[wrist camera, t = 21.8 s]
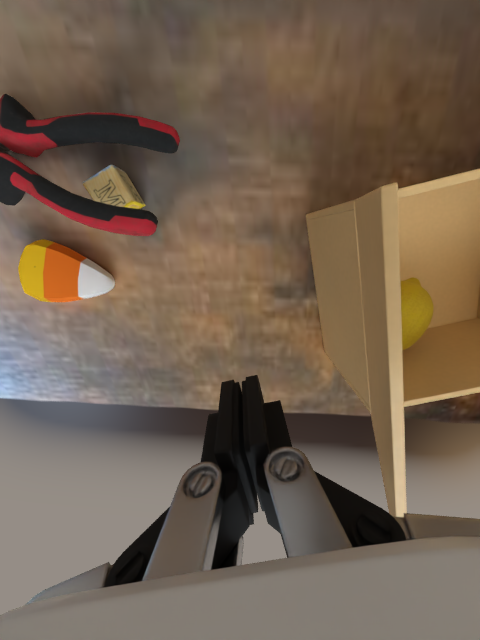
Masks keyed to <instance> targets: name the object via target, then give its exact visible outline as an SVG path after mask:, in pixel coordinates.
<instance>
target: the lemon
mask: <svg viewBox="0 0 480 640" xmlns="http://www.w3.org/2000/svg"><path fill="white" fill-rule="evenodd" d="M433 309H434V307H433V302H432V299H431V296H430V295H429V293H428V292H427V291H426V290H425V289H424V288H423V287H422V286H421V284H420V281H419V279H417V278H413V277H412V278H409V279H407V280H404V281H401V316H402V350H405V349H407V348H409V347H410V346H412V345H413V344H414V343H415V342H416V341H417V340H418V339H419V338H420V337H421V336H422V335H423V334H424V332H425V331H426V330H427V328H428V326H429V324H430V322H431V320H432V316H433Z"/></svg>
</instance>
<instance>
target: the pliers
mask: <svg viewBox="0 0 480 640" xmlns="http://www.w3.org/2000/svg"><path fill="white" fill-rule="evenodd" d="M94 142H103V143H119V144H126V145H132V146H139V147H143V148H147V149H150V150H154V151H159V152H164V153H174V152H176V151H177V149H178V145H179V142H180V139H179V136H178V133H177V131H176V130H175V129H174V128H173V127H172V126H169V125H166V124H164V123H161V122H158V121H154V120H150V119H147V118H143V117H139V116H132V115H125V114H118V113H82V114H74V115H66V116H59V117H54V118H49V119H44V120H36V119H35V118H34V117H33V115H32V114H31V113H30V112H28V111H27V110H26V109H25V108H24V107H23V106H22V105H21V104H20V103H19V102H18V101H17V100H15V99H14V98H13V97H11V96H9V95H7V94H4V95H3V96H2V97H1V99H0V202H2V203H4V204H6V205H16V204H17V203H18V202H19V201H20V200H21V199H22V198H23V196H24V194H25V192H27V193H29V194H30V195H32V196H33V197H35V198H36V199H38V200H39V201H41V202H42V203H44V204H46V205H47V206H49V207H51V208H53V209H54V210H56V211H58V212H60V213H61V214H63V215H65V216H66V217H68V218H70V219H72V220H75V221H77V222H80V223H82V224H85V225H87V226H90V227H93V228H97V229H101V230H105V231H109V232H113V233H119V234H126V235H134V236H149V235H152V234H153V233H154V232H155V231H156V227H157V223H158V220H157V217H156V216H155V215H154V214H153V213H151V212H149V211H145V210H140V209H134V208H127V207H119V206H114V205H109V204H105V203H101V202H97V201H93V200H90V199H87V198H84V197H81V196H78V195H75V194H72V193H70V192H69V191H67V190H65V189H63V188H61V187H59V186H57V185H55V184H53V183H52V182H50V181H48V180H47V179H45V178H43V177H42V176H40V175H38V174H37V173H35V172H34V171H33V170H31V169H30V168H28V167H27V166H26V165H24V164H23V163H21V162H20V161H18V160H17V159H15V158H13V157H12V156H10V155H8V154H6V151H7V150H11V151H13V152H16V153H21V154H25V155H28V156H31V157H38V156H39V155H40V154H41V153H42V152H43V151H44V150H47V149H51V148H55V147H59V146H66V145H73V144H83V143H94Z"/></svg>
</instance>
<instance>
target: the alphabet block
mask: <svg viewBox="0 0 480 640" xmlns="http://www.w3.org/2000/svg"><path fill="white" fill-rule="evenodd" d="M83 185H84V187H85V188H86V190H87V191H88V193H89V194H90V196H91V197H92V199H93V200H94V201H97V202H101V203H105V204H109V205H114V206H119V207H127V208H134V209H140V208H142V207H144V206H145V204H144V202H143V200H142V199H141V197H140V195H139V194H138V192H137V190H136V189H135V187H134V185H133V184H132V182H131V180H130V179H129V177H128V175H127V173H126V172H124V171H123V170H121V169H119V168H118V167H116V166H114V165H109V166H108V167H106V168H104V169H103V170H101V171H100V172H98V173H97V174H95V175H94V176H92V177H91V178H89V179H88V180H86V181H84V182H83Z"/></svg>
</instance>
